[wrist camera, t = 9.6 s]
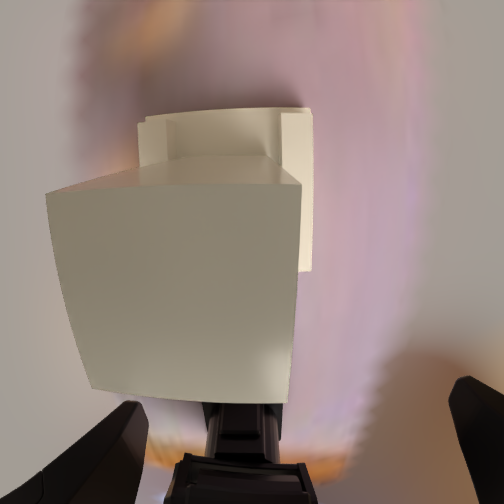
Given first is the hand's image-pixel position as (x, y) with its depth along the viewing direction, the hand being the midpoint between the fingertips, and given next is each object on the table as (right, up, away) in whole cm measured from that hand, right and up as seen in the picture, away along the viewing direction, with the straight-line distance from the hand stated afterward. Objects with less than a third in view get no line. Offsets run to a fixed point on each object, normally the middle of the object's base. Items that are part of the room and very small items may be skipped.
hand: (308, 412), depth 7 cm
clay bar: (-3, +8, +10) cm, 13 cm away
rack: (-3, +8, +11) cm, 14 cm away
